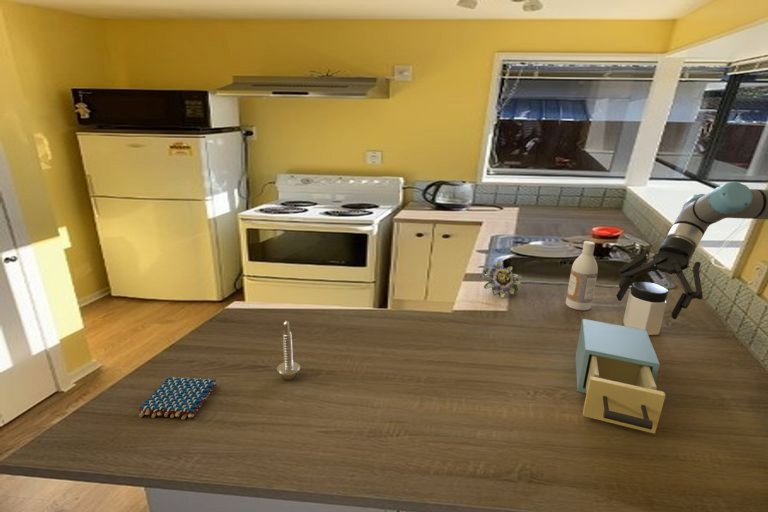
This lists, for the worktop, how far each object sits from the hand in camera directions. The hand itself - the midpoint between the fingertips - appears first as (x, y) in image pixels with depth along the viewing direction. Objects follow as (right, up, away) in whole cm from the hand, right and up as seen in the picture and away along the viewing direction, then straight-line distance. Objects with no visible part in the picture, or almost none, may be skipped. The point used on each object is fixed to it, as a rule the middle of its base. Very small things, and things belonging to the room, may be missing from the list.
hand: (644, 307), depth 112 cm
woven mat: (-108, -14, -31) cm, 114 cm away
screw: (-89, -12, -23) cm, 93 cm away
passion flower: (-32, +2, +23) cm, 40 cm away
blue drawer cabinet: (-21, -13, -21) cm, 32 cm away
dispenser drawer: (-26, -16, -33) cm, 44 cm away
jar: (0, -6, +2) cm, 7 cm away
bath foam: (-11, -2, +15) cm, 19 cm away
